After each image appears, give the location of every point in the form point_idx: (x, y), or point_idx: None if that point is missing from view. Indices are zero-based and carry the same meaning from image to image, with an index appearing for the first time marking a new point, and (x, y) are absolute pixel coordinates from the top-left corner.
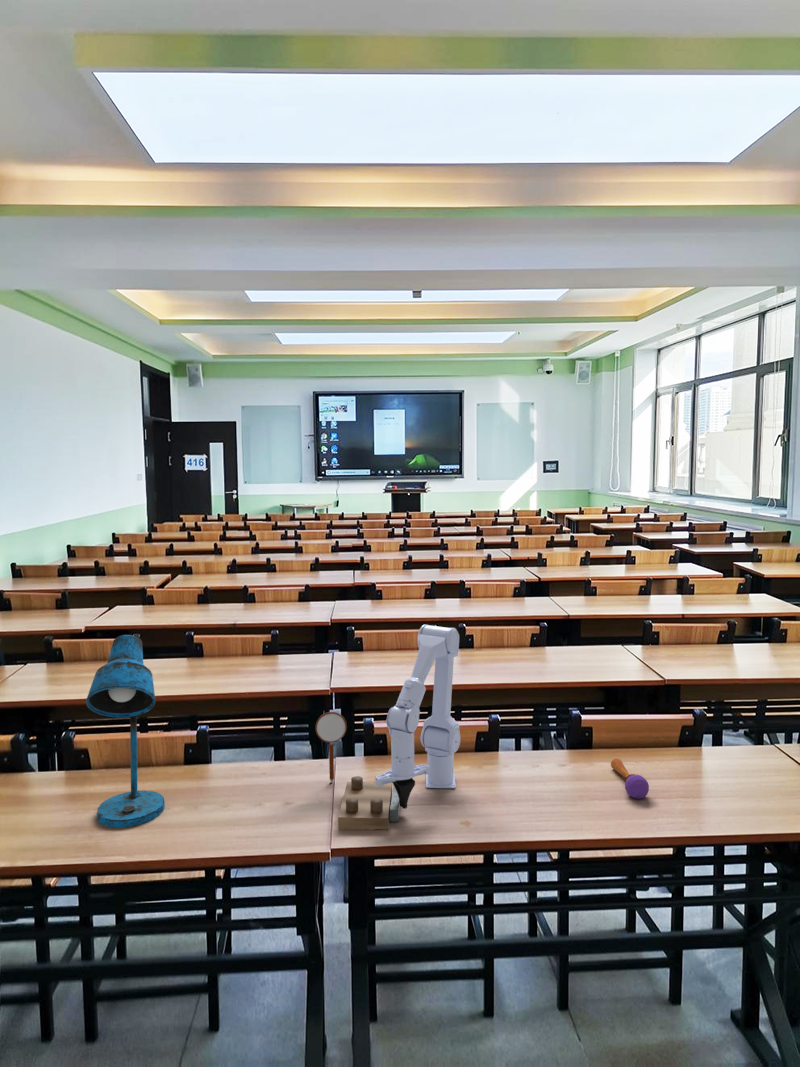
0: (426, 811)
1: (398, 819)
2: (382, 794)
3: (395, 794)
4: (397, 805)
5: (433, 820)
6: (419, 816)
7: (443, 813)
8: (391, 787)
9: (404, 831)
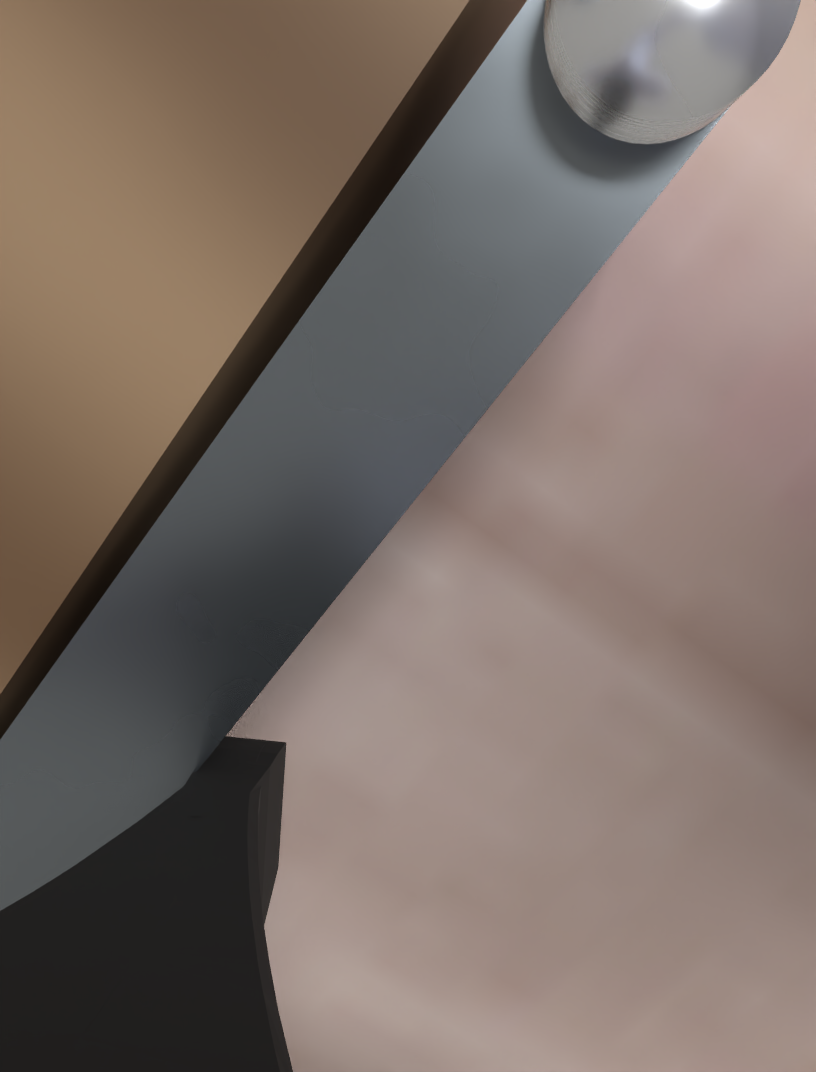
0: (603, 842)
1: None
2: (23, 278)
3: (255, 522)
4: None
5: (517, 1048)
6: (436, 888)
7: (743, 996)
8: (424, 64)
9: None
